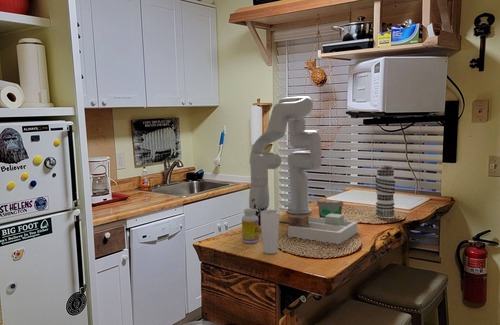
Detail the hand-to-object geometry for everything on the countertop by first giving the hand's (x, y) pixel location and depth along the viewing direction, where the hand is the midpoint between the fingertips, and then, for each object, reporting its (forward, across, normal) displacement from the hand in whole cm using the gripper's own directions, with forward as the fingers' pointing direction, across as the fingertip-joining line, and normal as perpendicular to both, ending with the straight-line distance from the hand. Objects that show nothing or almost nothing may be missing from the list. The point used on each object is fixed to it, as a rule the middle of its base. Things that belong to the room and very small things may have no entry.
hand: (260, 223), depth 184 cm
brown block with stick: (+1, 0, +10) cm, 10 cm away
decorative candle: (+3, -48, +41) cm, 63 cm away
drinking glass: (+3, +26, +21) cm, 34 cm away
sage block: (+1, -9, +31) cm, 32 cm away
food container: (+3, -25, +22) cm, 33 cm away
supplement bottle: (+3, +18, +7) cm, 20 cm away
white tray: (+3, -5, +28) cm, 29 cm away
